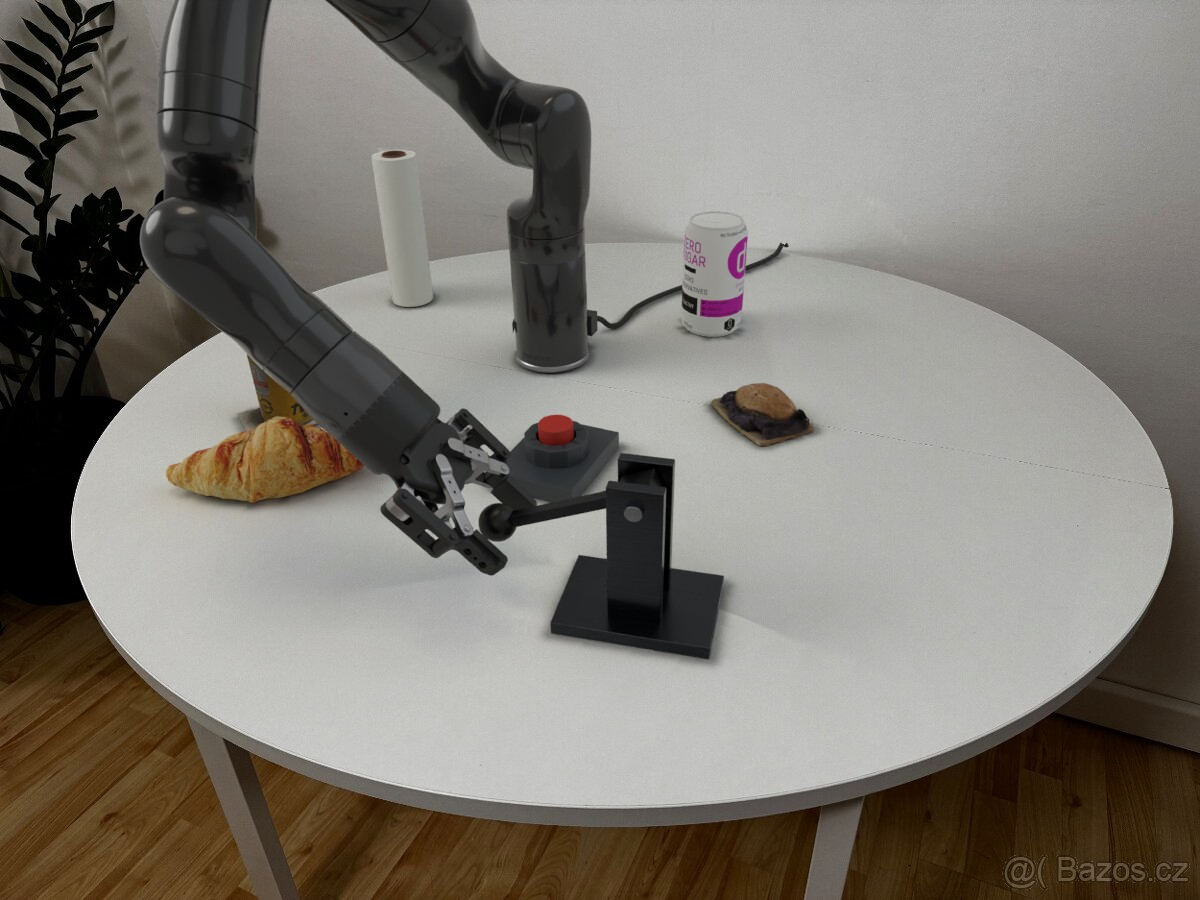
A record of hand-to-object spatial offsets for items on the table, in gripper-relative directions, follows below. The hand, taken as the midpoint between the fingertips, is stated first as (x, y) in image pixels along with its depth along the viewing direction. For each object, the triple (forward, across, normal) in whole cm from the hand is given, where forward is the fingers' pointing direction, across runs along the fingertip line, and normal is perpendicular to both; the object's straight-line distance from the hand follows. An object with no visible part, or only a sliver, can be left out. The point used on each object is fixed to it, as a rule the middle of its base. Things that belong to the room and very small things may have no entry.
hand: (515, 539), depth 74 cm
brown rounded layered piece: (+17, +34, -8) cm, 39 cm away
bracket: (+11, 0, -4) cm, 12 cm away
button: (0, +19, +3) cm, 20 cm away
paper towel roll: (-21, +59, +30) cm, 69 cm away
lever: (+2, 0, -5) cm, 6 cm away
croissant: (-17, +11, +25) cm, 33 cm away
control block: (+2, +20, +6) cm, 20 cm away
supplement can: (+10, +58, -2) cm, 59 cm away
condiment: (-22, +22, +30) cm, 43 cm away
